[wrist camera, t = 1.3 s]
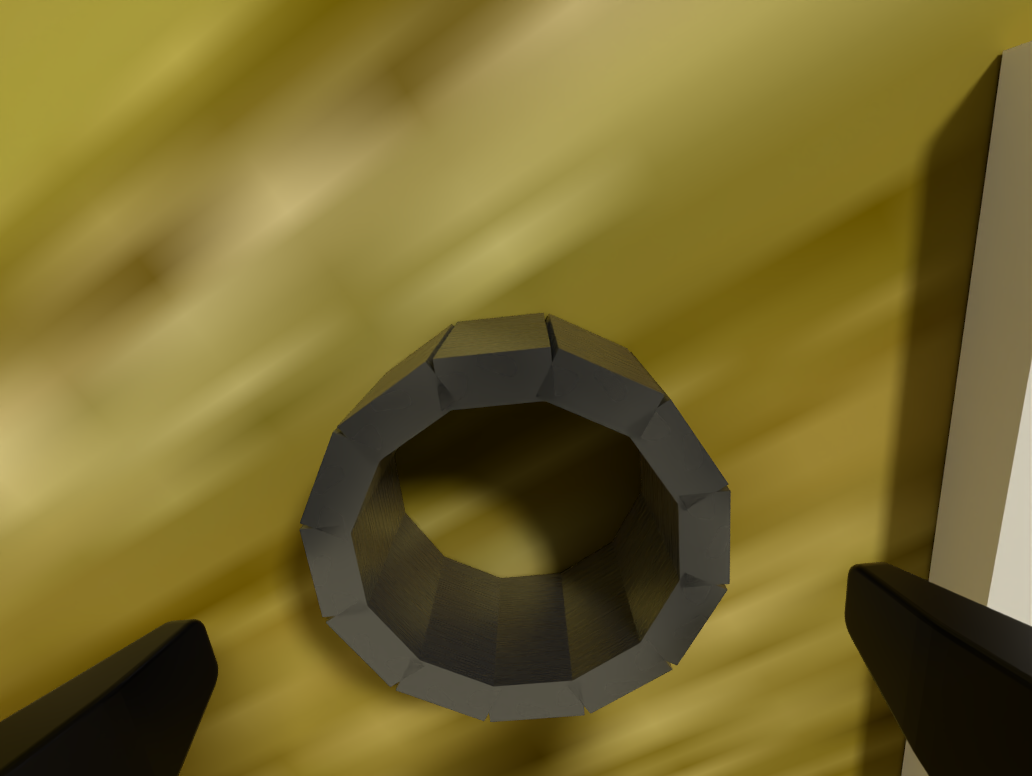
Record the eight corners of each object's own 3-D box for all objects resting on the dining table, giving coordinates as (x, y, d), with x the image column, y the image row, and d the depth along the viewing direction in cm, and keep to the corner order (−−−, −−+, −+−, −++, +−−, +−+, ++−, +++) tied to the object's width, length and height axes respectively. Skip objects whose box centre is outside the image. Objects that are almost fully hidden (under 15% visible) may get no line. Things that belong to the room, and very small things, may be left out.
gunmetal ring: (680, 592, 12) (728, 704, 9) (391, 616, 13) (352, 732, 10) (674, 298, 10) (732, 328, 7) (331, 335, 11) (260, 377, 8)
